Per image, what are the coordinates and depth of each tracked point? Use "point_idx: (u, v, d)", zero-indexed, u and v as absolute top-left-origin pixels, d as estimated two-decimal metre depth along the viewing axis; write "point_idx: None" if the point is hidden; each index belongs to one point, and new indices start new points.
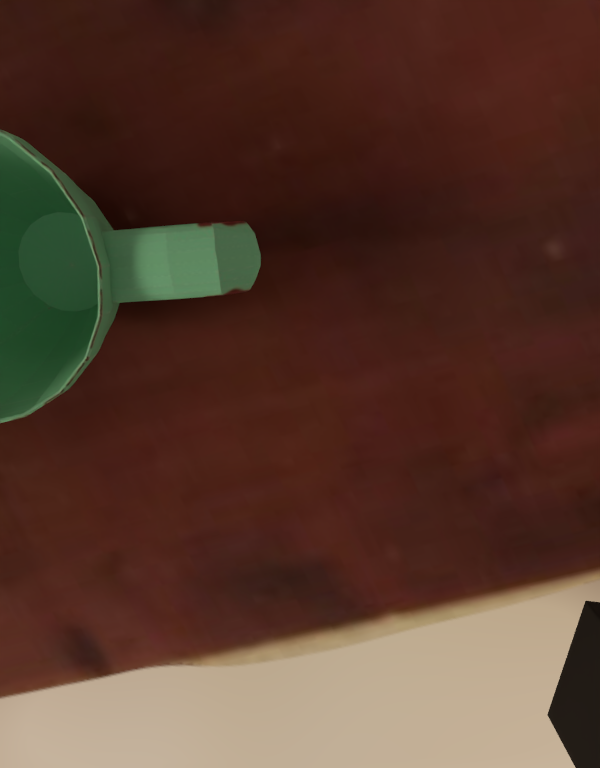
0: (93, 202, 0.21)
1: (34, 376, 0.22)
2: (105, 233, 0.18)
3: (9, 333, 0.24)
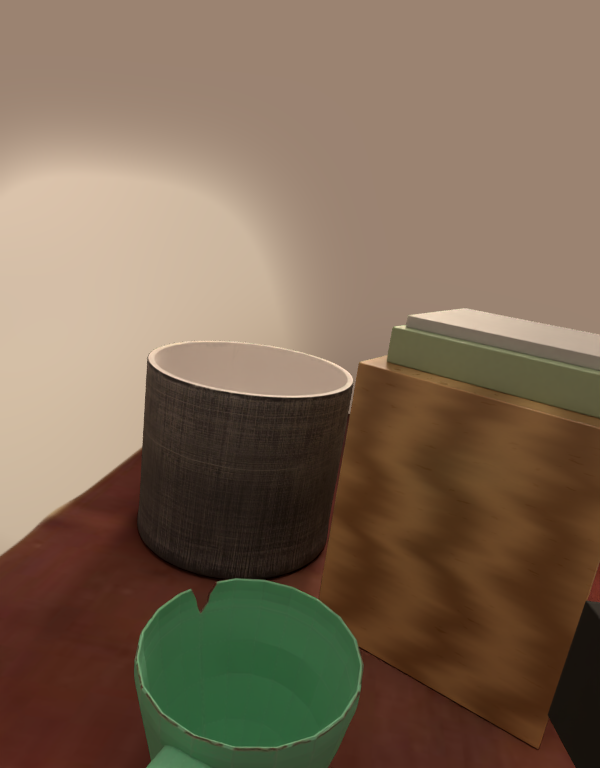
0: None
1: (163, 685, 0.26)
2: None
3: (205, 711, 0.28)
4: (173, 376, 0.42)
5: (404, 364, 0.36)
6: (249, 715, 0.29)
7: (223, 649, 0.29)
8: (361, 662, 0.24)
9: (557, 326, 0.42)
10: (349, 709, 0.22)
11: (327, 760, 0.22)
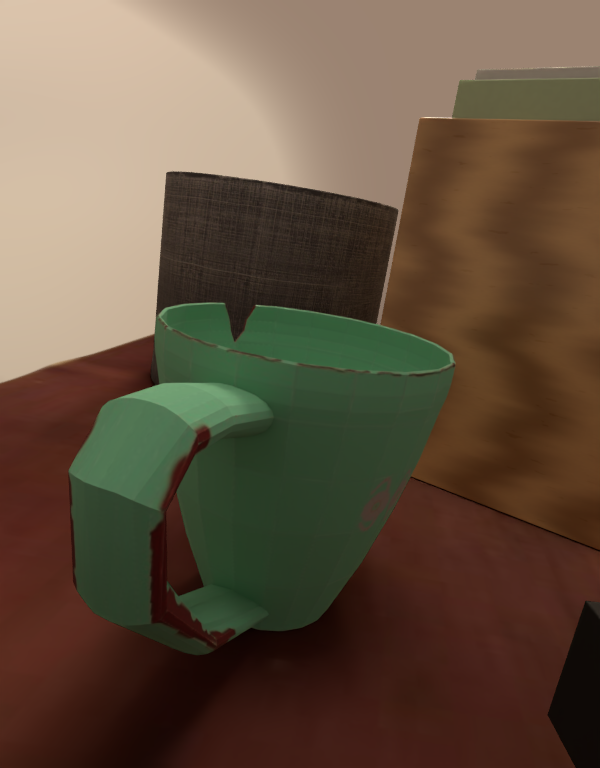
0: (313, 521, 0.16)
1: None
2: (269, 410, 0.14)
3: None
4: (196, 173, 0.36)
5: None
6: None
7: None
8: (450, 353, 0.18)
9: None
10: (445, 370, 0.16)
11: (413, 443, 0.16)
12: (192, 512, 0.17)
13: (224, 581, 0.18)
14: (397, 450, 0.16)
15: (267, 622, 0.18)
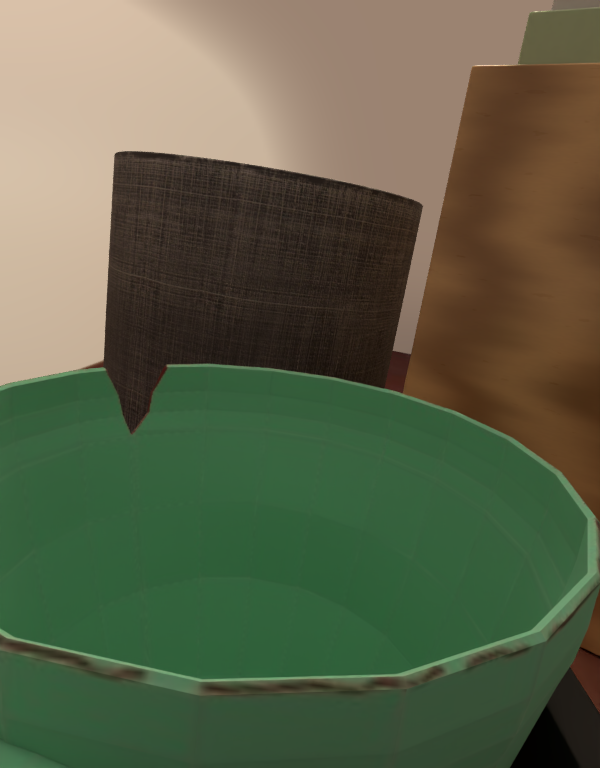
0: None
1: (35, 587, 0.11)
2: None
3: (152, 659, 0.13)
4: None
5: None
6: (250, 666, 0.14)
7: (188, 523, 0.13)
8: (556, 470, 0.09)
9: None
10: (599, 559, 0.06)
11: (525, 738, 0.07)
12: None
13: None
14: None
15: None
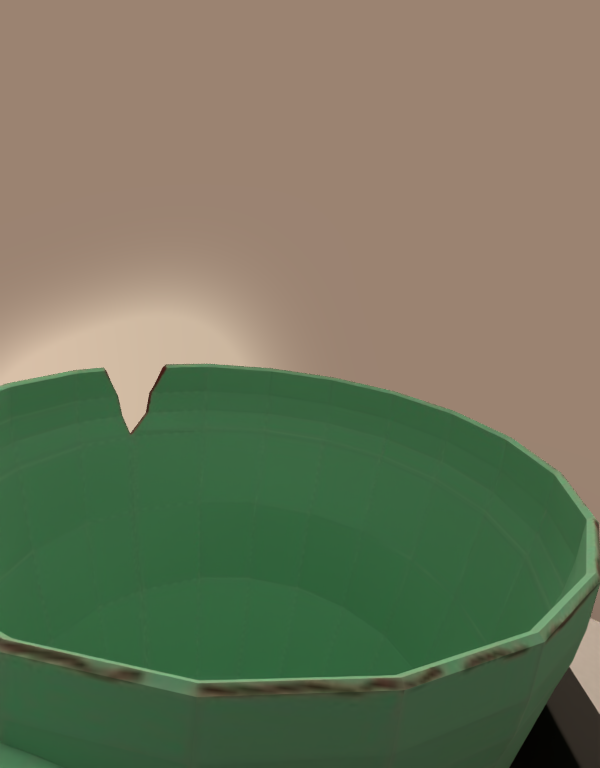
0: None
1: (33, 588, 0.11)
2: None
3: (152, 660, 0.13)
4: None
5: None
6: (249, 667, 0.14)
7: (187, 523, 0.13)
8: (555, 471, 0.09)
9: None
10: (598, 559, 0.06)
11: (523, 739, 0.07)
12: None
13: None
14: None
15: None
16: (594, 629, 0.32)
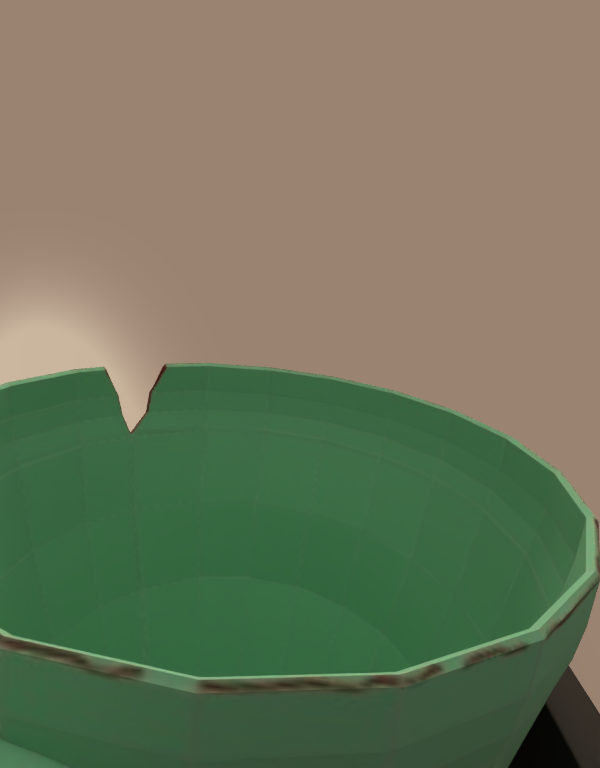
0: None
1: (34, 586, 0.11)
2: None
3: (152, 659, 0.13)
4: None
5: None
6: (248, 666, 0.14)
7: (187, 522, 0.13)
8: (555, 469, 0.09)
9: None
10: (597, 557, 0.06)
11: (523, 736, 0.07)
12: None
13: None
14: None
15: None
16: None
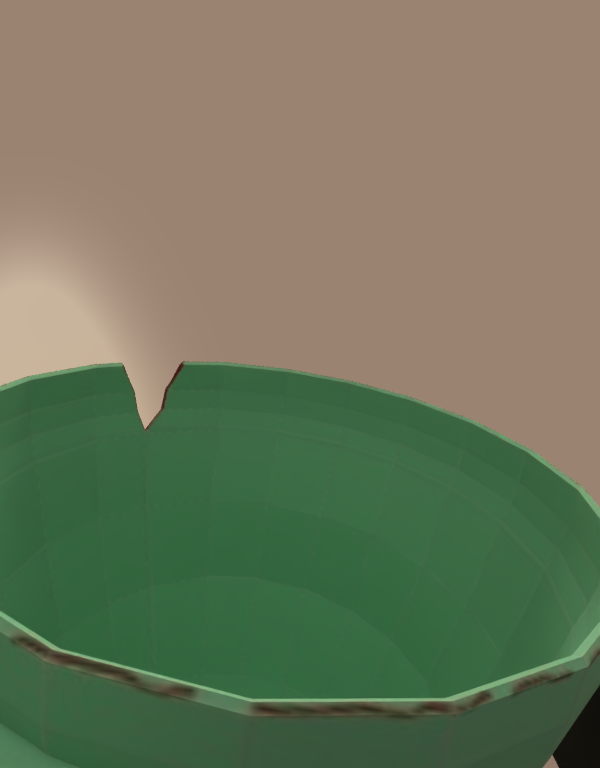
0: None
1: (46, 582, 0.11)
2: None
3: (157, 657, 0.13)
4: None
5: None
6: (253, 666, 0.14)
7: (198, 521, 0.13)
8: (579, 486, 0.09)
9: None
10: None
11: None
12: None
13: None
14: None
15: None
16: None
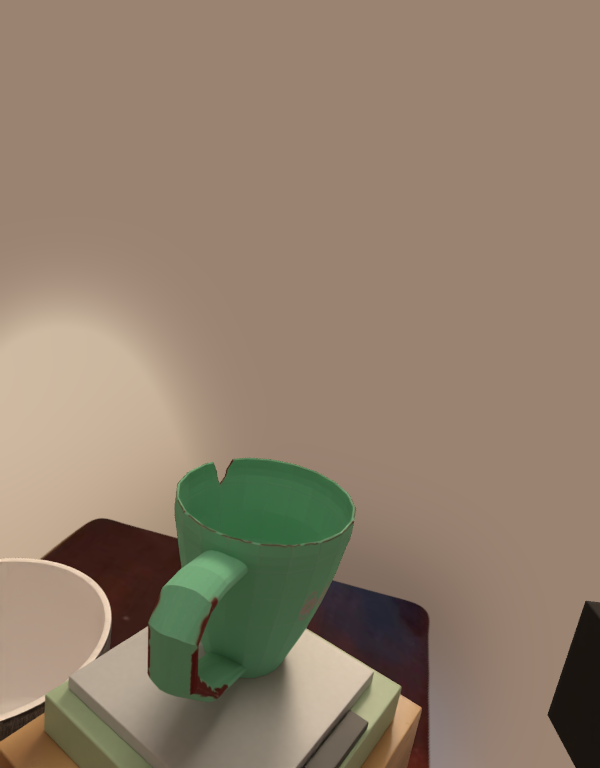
0: (271, 619, 0.28)
1: None
2: (245, 567, 0.26)
3: None
4: None
5: (58, 743, 0.28)
6: None
7: (238, 517, 0.35)
8: (354, 506, 0.30)
9: (309, 632, 0.35)
10: (346, 529, 0.28)
11: (329, 571, 0.28)
12: None
13: (219, 651, 0.29)
14: (319, 577, 0.28)
15: (245, 673, 0.30)
16: (307, 644, 0.34)
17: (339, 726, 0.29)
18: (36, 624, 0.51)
